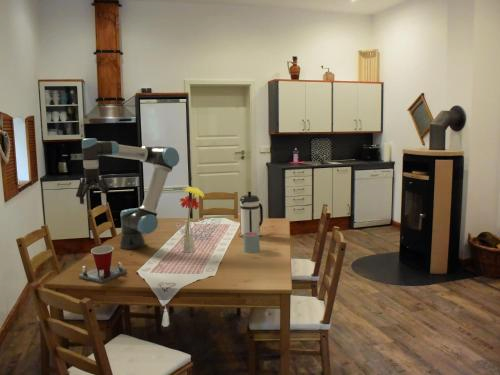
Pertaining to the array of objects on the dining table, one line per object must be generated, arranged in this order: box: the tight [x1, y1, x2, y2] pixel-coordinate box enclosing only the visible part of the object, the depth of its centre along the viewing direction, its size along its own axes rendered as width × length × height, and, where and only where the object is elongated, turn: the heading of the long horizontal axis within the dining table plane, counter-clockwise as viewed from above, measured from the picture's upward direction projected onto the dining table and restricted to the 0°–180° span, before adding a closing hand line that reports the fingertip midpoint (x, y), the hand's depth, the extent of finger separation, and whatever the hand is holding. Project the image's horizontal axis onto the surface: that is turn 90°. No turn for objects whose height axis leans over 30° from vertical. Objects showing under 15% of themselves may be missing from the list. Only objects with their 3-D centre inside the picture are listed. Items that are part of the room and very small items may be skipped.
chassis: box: [78, 261, 128, 284], centre depth 211 cm, size 16×16×6 cm
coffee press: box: [238, 191, 264, 238], centre depth 277 cm, size 17×16×30 cm
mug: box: [242, 232, 261, 254], centre depth 248 cm, size 14×9×10 cm
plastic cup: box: [90, 245, 115, 273], centre depth 211 cm, size 11×11×12 cm
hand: (94, 207), depth 226 cm, fingers open, 13 cm apart
